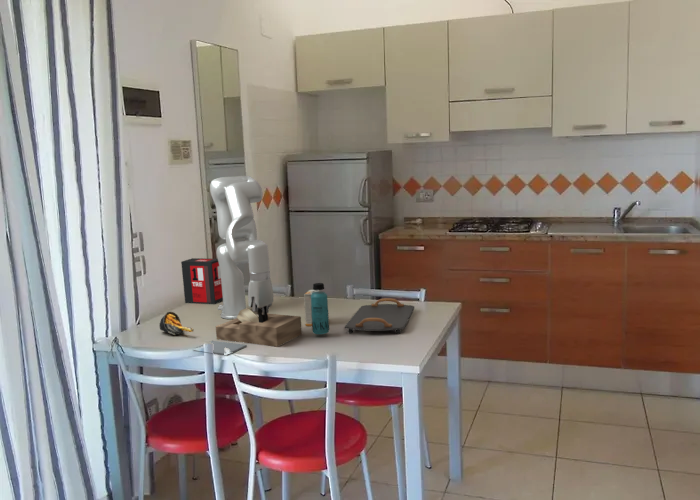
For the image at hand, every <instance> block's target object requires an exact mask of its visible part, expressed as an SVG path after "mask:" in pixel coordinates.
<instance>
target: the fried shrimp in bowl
mask: <svg viewBox="0 0 700 500" xmlns="http://www.w3.org/2000/svg"><path fill="white" fill-rule="evenodd" d="M159 329H160V331H162V332H165V333H167V334H170V335H172V336H176V335H182V334H184V333H185V332H188V333H193V332H194V328H193V327H186V326H183V325H182V323H181V319H180V316H179V315H178V314H177V313H175V311H168V312H166V313H165V314H164V316H162V317H161V319H160V322H159Z"/></svg>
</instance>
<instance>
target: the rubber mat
mask: <svg viewBox="0 0 700 500" xmlns="http://www.w3.org/2000/svg"><path fill="white" fill-rule="evenodd" d="M209 342H211V343H213V344H214V350H213V353H214V354H213V355H219V356H225V355H224V348H225V347H226V348H229V349H230V350H231V352H233V353H232V354H234V353H236V352H238V351H240V350H243V349H245V348H247V346H248V345H247V344H245V343H244V344H243V343H242V344H240V343H235V342H229V341H228V342H225V341H219V340H211V341H209ZM201 346H203V344H201V345H199V346H196V347H195V348H198V347H201ZM244 347H245V348H244ZM242 348H243V349H242Z"/></svg>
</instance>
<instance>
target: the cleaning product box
mask: <svg viewBox="0 0 700 500" xmlns="http://www.w3.org/2000/svg"><path fill="white" fill-rule="evenodd" d="M180 263H181V272H182V281H183V283H182V285H183V294H184V304H196V305H197V304H200V305H217V304H220V303H221V302H223V296H222V284H221V274H220V267H219V262H218V258H205V257H204V258H202V257H201V258H196V257H195V258H193V257H191V258H189V259H186V260H185V259H184V260H182V261H181V262H180Z"/></svg>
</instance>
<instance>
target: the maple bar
mask: <svg viewBox="0 0 700 500" xmlns="http://www.w3.org/2000/svg"><path fill="white" fill-rule="evenodd" d="M237 318H238V319H239V320H240V321H241V322H245V321H250V322H259V318H258V314H255V312H253V311H252V310H251V309H250V307H246V309H243V310H240V312H239V314H238V316H237Z"/></svg>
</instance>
